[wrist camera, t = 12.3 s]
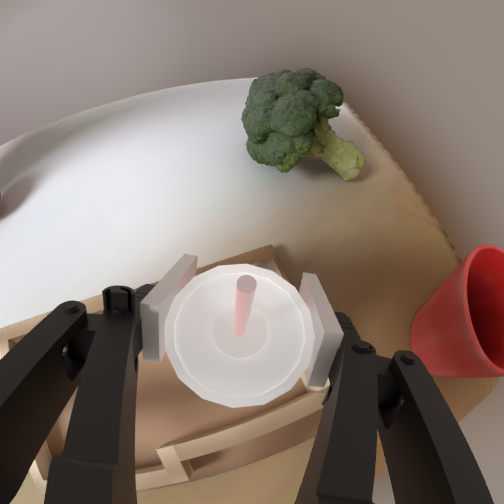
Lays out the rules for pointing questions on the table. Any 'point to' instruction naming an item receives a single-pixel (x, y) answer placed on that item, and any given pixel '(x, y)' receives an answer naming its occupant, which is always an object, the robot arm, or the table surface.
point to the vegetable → (297, 122)
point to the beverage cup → (239, 335)
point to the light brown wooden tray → (191, 413)
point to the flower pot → (465, 319)
